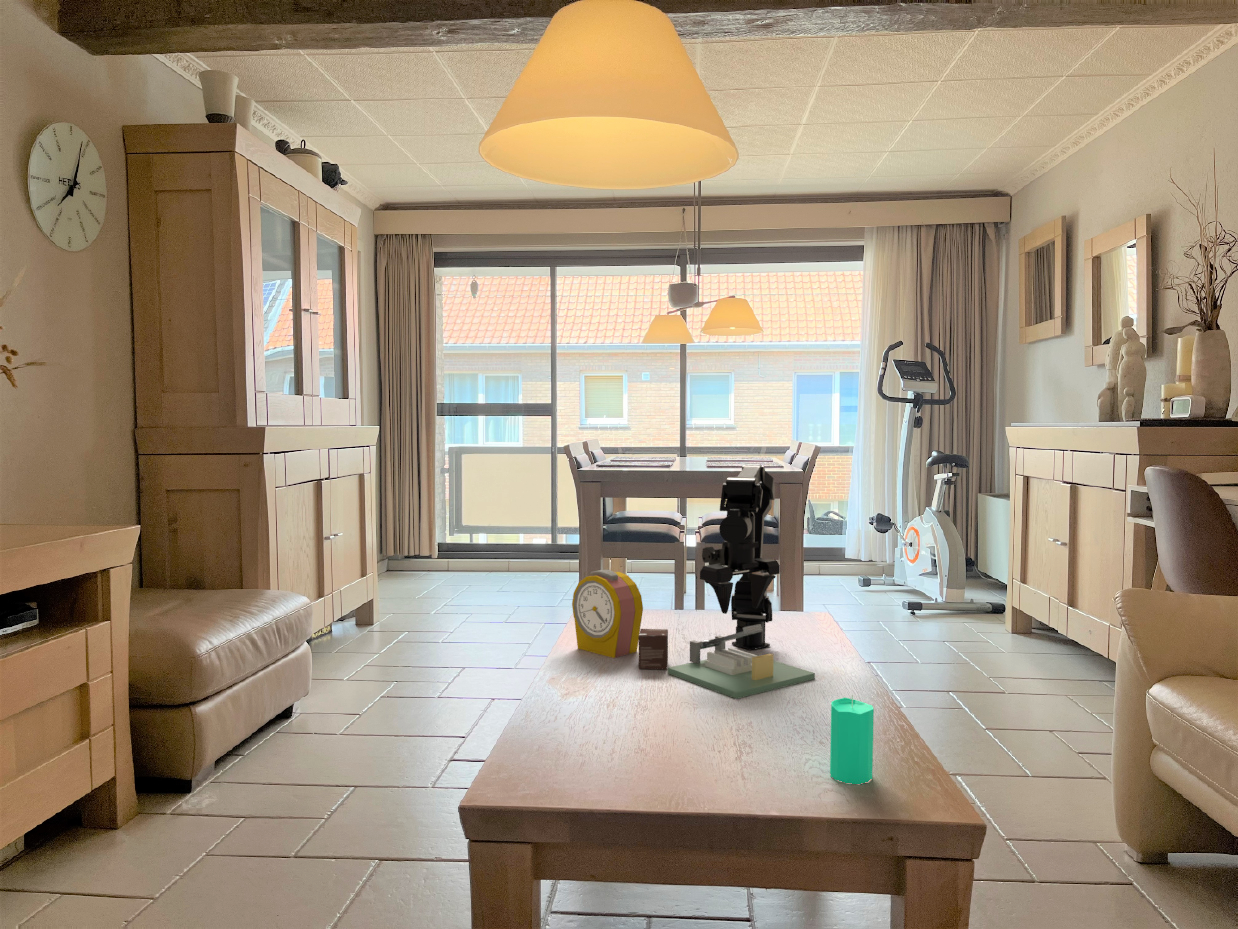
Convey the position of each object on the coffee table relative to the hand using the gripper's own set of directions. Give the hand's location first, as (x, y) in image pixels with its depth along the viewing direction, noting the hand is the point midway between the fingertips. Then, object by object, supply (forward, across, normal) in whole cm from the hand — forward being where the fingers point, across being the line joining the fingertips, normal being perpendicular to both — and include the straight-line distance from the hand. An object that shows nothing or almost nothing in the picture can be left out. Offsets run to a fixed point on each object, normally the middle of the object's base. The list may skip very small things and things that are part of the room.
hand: (740, 610), depth 177 cm
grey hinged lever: (+6, +5, +2) cm, 8 cm away
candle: (+12, +28, +50) cm, 58 cm away
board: (+12, +5, +5) cm, 14 cm away
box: (+12, +14, -11) cm, 22 cm away
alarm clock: (+12, +15, -27) cm, 33 cm away
